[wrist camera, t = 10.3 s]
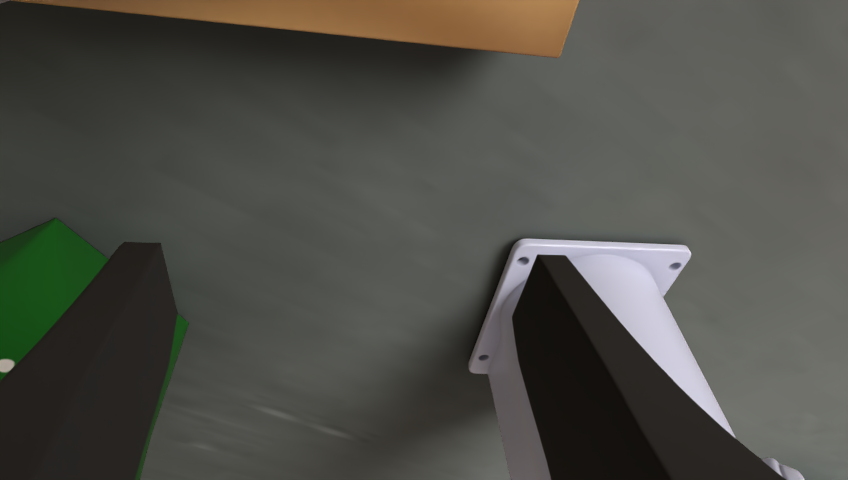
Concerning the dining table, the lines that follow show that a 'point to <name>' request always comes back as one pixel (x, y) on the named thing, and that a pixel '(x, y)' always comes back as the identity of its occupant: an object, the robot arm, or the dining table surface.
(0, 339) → the milk carton
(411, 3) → the shelf stand
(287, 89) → the dining table surface
